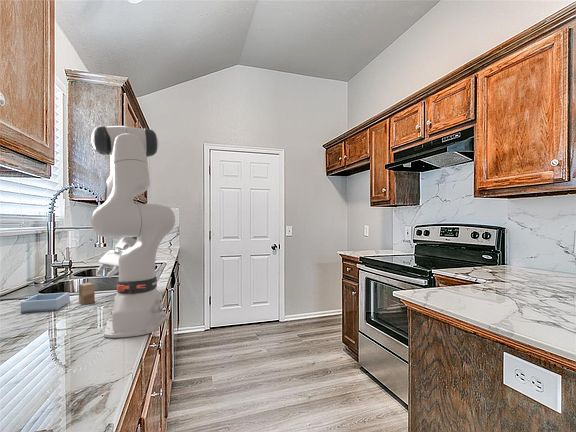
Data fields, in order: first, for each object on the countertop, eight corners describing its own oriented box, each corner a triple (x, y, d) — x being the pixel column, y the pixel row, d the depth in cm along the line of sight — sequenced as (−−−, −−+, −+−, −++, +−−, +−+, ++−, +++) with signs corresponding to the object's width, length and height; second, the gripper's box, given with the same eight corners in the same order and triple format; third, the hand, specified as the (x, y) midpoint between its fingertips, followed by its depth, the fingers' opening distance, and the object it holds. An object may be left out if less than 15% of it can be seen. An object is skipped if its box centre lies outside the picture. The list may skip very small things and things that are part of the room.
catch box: (57, 310, 123) (56, 299, 123) (20, 313, 120) (20, 302, 120) (69, 302, 134) (69, 292, 134) (36, 304, 131) (36, 294, 131)
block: (94, 302, 133) (94, 283, 133) (83, 304, 130) (83, 285, 130) (89, 300, 136) (89, 282, 136) (79, 302, 133) (78, 284, 133)
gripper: (108, 244, 150) (86, 268, 143) (132, 246, 138) (108, 273, 130) (118, 252, 154) (97, 277, 146) (142, 255, 142) (120, 282, 134)
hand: (102, 275), depth 138 cm, fingers open, 8 cm apart
